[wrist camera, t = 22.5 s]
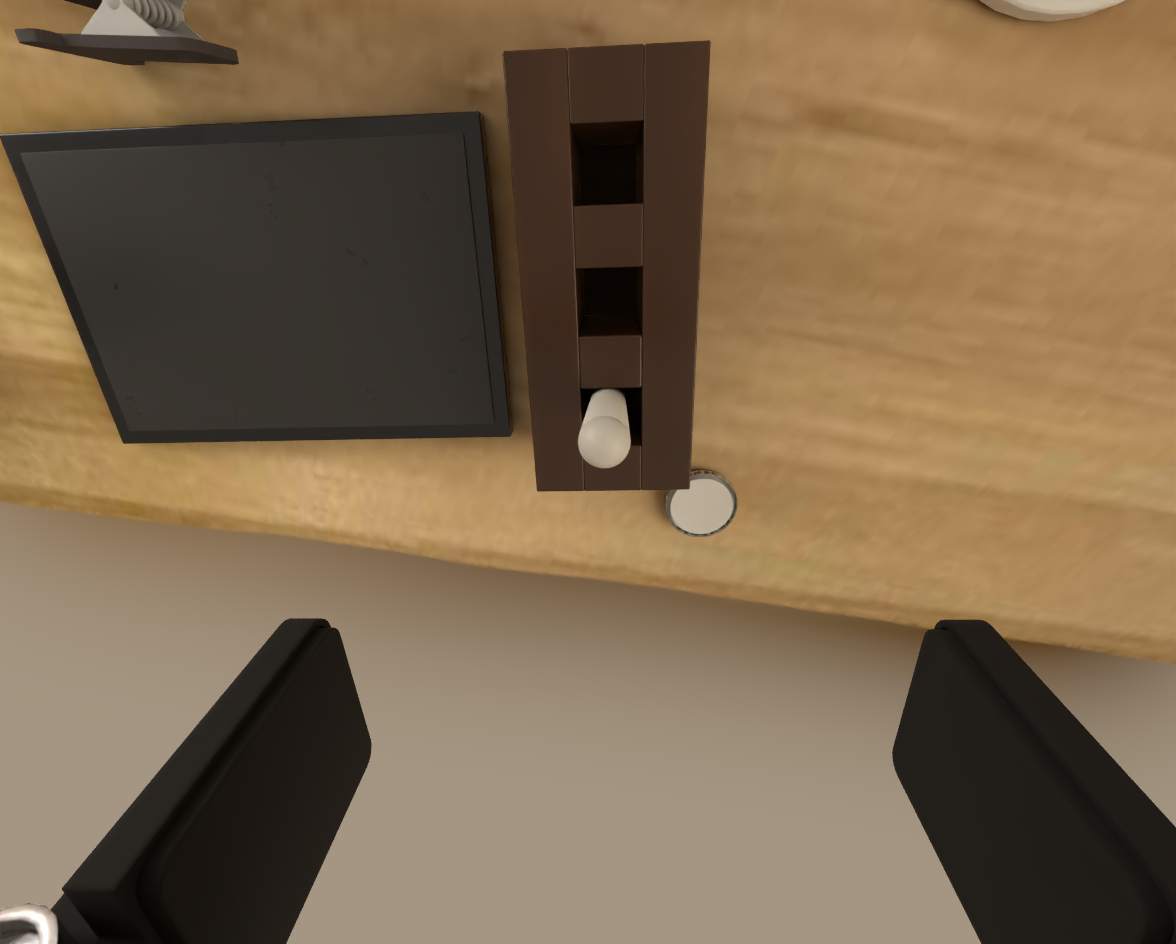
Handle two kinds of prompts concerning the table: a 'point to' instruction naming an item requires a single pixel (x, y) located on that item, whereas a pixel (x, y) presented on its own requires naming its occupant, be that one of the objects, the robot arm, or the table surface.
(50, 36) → the clip-on lamp
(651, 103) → the pen rack
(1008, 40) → the table surface
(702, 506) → the white flat rimmed disc
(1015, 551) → the table surface
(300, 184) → the tablet
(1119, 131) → the table surface
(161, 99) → the table surface
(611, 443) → the stylus
